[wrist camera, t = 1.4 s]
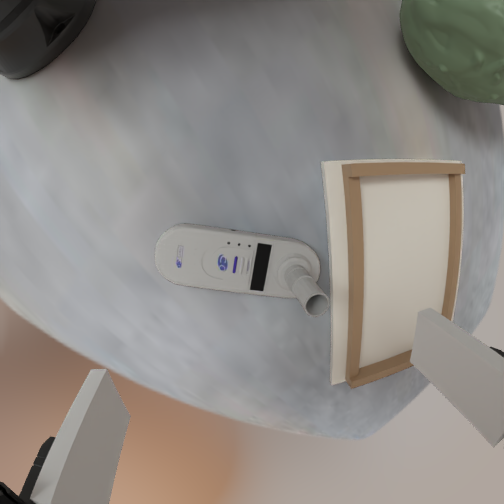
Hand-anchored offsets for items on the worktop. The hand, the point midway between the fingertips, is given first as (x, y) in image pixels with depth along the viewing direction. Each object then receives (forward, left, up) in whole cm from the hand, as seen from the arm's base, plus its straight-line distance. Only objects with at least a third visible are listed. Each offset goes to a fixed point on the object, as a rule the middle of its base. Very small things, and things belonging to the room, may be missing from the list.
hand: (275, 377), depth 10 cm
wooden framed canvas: (+5, +19, -17) cm, 26 cm away
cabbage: (-22, +27, -17) cm, 39 cm away
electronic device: (0, 0, -18) cm, 18 cm away
